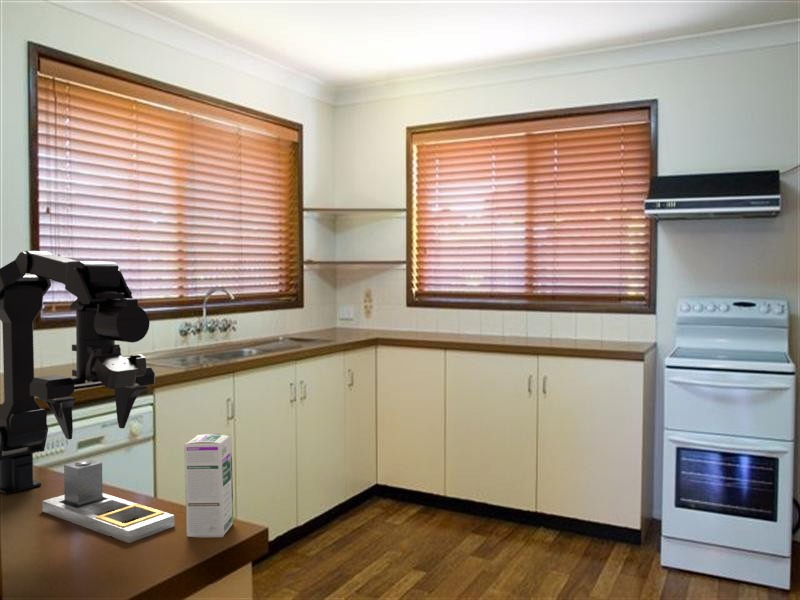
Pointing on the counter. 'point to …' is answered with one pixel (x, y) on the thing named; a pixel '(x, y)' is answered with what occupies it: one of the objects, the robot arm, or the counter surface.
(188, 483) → the syrup box
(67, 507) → the socket frame
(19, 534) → the counter surface
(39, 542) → the counter surface
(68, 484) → the gray knob block
